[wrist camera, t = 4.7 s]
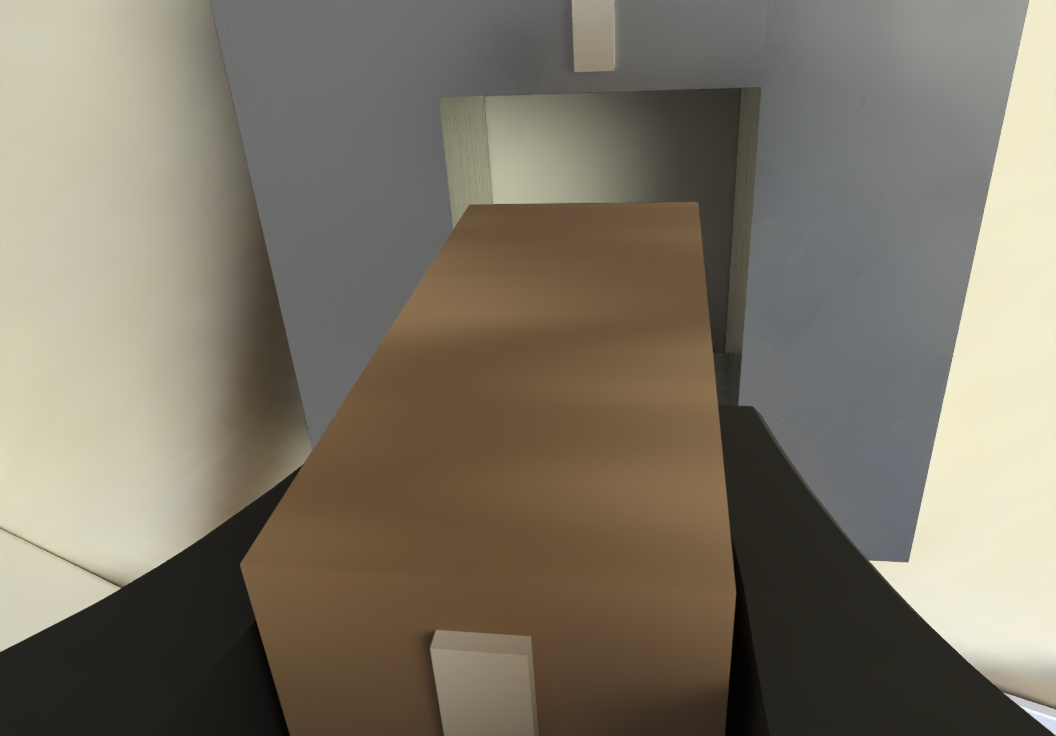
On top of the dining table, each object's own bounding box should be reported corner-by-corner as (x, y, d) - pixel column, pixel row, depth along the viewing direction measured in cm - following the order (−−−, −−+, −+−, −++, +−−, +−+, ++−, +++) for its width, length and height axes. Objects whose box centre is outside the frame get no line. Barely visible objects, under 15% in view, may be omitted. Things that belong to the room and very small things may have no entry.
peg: (698, 202, 11) (739, 613, 5) (686, 485, 13) (703, 1021, 7) (469, 204, 11) (228, 581, 5) (495, 477, 13) (349, 974, 7)
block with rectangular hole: (974, -140, 14) (1066, -145, 11) (871, 458, 20) (911, 569, 17) (282, -92, 16) (184, -83, 12) (378, 442, 22) (328, 539, 18)
